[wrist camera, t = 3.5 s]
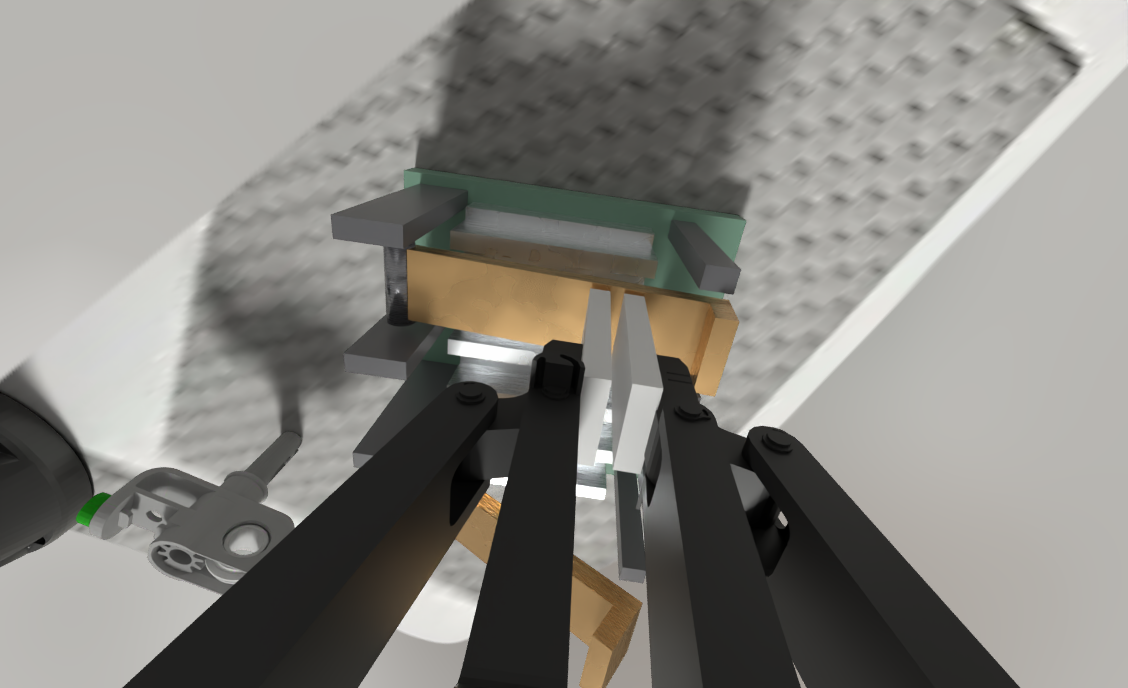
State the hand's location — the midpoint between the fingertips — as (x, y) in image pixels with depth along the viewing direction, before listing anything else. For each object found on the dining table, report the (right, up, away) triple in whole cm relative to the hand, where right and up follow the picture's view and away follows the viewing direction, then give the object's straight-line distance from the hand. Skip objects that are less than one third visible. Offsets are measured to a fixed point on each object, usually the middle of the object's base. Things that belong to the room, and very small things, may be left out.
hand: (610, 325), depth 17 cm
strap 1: (-2, +1, +1) cm, 3 cm away
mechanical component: (-21, -7, +15) cm, 27 cm away
